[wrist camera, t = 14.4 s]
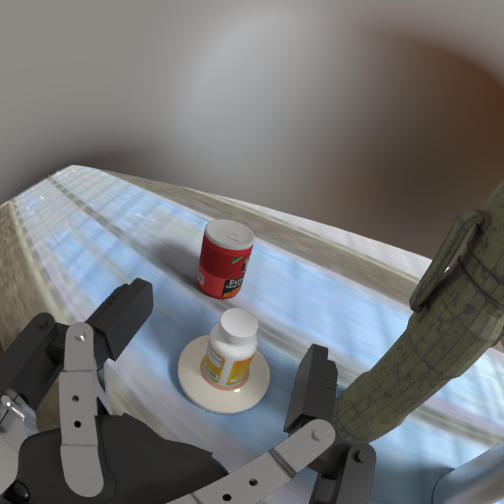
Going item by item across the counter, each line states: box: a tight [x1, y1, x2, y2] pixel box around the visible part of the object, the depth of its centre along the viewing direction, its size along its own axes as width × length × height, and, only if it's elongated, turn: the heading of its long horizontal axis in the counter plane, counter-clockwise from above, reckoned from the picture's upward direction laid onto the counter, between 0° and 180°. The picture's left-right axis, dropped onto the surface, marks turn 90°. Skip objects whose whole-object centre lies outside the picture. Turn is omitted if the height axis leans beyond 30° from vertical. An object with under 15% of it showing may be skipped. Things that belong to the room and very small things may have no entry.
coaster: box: [178, 334, 270, 415], centre depth 33 cm, size 12×12×2 cm
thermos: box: [332, 179, 504, 444], centre depth 21 cm, size 9×12×35 cm
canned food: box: [197, 219, 255, 299], centre depth 45 cm, size 8×8×11 cm
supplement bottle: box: [204, 308, 258, 386], centre depth 30 cm, size 5×5×10 cm
